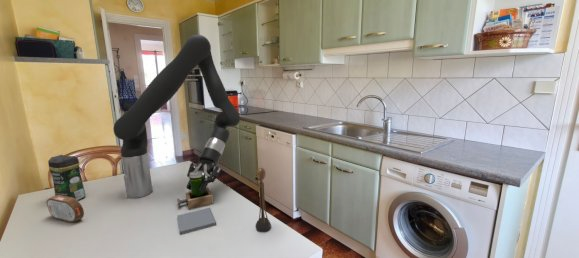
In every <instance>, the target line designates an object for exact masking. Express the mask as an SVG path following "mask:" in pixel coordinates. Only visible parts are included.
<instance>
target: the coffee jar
mask: <svg viewBox="0 0 579 258" xmlns="http://www.w3.org/2000/svg"><path fill="white" fill-rule="evenodd" d="M47 162H48V169H49V170H50V171H49V172H50V174H51V179H52V184H53V190H54V196H55V195H62V196H67V197H72V198H75V199H76V200H77V201H78V202H80V201H81V200H82V199H84V198H85V197H86V195H87V194H86V190H85V187H84V183H83V179H82V175H81V170H80V169H81V168H80V160H79V158H78V156H75V155H63V154H59V155H55V156H52V157H50V159H48V161H47Z"/></svg>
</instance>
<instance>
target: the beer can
mask: <svg viewBox="0 0 579 258" xmlns="http://www.w3.org/2000/svg"><path fill="white" fill-rule="evenodd" d="M188 179H189V180H190V188H191V190H190V191H191V197H192V199H194V198H198V197H203V196H206V190H205V191H204V192H200V191H199V188H200V186H201V184H202V182H203V181H204V173H203V171H193V172H191V173H190V176H189V177H188Z"/></svg>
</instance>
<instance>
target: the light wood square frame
mask: <svg viewBox="0 0 579 258" xmlns="http://www.w3.org/2000/svg"><path fill="white" fill-rule="evenodd" d="M185 196H186V197H185V198H184V199H180V198H177V199H176V200H177V201H176V202H177V207H181V204H186V203H187V206H188V210H189V211H190V210H193V209H199V208H203V207H207V206H211V205H214V202H213V201H214V199H213V194H212V192H211V190H210V188H209V186H207V187H206V196H203V197H198V198H194V199H192V197H191V190H189V191H185Z"/></svg>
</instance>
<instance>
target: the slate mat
mask: <svg viewBox="0 0 579 258" xmlns="http://www.w3.org/2000/svg"><path fill="white" fill-rule="evenodd" d="M176 217H177V218H176V219H177V222H178V229H179V235H185V234H189V233H192V232H195V231H199V230H203V229H207V228H210V227H214V226H217V220H216V218H215V216H214V213H213V211H212V209H211V207H208V208H203V209H198V210H194V211H190V212H186V213H182V214H178V215H177V216H176Z"/></svg>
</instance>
